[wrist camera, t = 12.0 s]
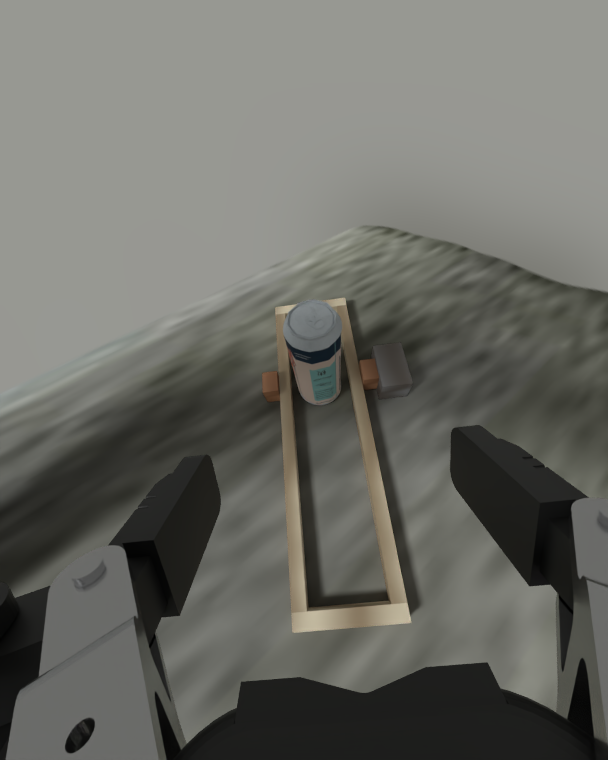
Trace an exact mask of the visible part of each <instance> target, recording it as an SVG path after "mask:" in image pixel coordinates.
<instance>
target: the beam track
mask: <svg viewBox="0 0 608 760" xmlns="http://www.w3.org/2000/svg"><path fill="white" fill-rule="evenodd" d="M323 302H327V303H328V304H329V305H330V306H331V307H332V308H333V309H334V310H335V311H336V312H337V313H338V315H339V316H340V318H341V321H342V331H341V340H342V346H343V351H344V357H345V363H346V368H347V374H348V379H349V385H350V390H351V396H352V401H353V407H354V412H355V418H356V423H357V429H358V434H359V440H360V445H361V451H362V456H363V462H364V468H365V473H366V479H367V484H368V490H369V495H370V501H371V506H372V512H373V517H374V523H375V528H376V534H377V539H378V545H379V550H380V556H381V562H382V567H383V573H384V578H385V584H386V589H387V595H388V600H389V601H378V602H366V603H355V604H343V605H332V606H320V607H309V606H308V593H307V580H306V567H305V553H304V540H303V527H302V514H301V501H300V487H299V474H298V461H297V448H296V434H295V421H294V408H293V395H292V382H291V368H290V356H289V352H288V349H287V345H286V342H285V338H284V334H283V325H284V321H285V319H286V317H287V315H288V312H289V311H290V310H291V309H292V308H293V307H294V306H296V305H297V304H296V305H289V306H281V307H275V312H276V331H277V350H278V368H279V376H278V373H277V371H273V372H265V373H262V383H263V394H264V396H265V398H266V400H267V402H273V401H280V406H281V425H282V444H283V463H284V481H285V500H286V519H287V538H288V557H289V576H290V594H291V613H292V632H293V633H296V632H308V631H320V630H332V629H344V628H356V627H368V626H380V625H392V624H404V623H411V618H410V613H409V608H408V604H407V599H406V594H405V589H404V584H403V579H402V574H401V569H400V564H399V560H398V555H397V550H396V545H395V540H394V535H393V530H392V525H391V521H390V516H389V511H388V506H387V501H386V496H385V491H384V486H383V482H382V477H381V472H380V467H379V462H378V457H377V452H376V447H375V442H374V438H373V433H372V428H371V423H370V418H369V413H368V408H367V403H366V399H365V394H364V390H370V389H377V393H378V397H379V399H386V398H395V397H403V396H407V395H408V393H409V391H410V389H411V387H412V385H413V381H412V378H411V374H410V371H409V368H408V364H407V361H406V358H405V354H404V351H403V348H402V344H401V342H398V343H390V344H382V345H375V346H373V347H372V353H371V358H370V359H366V360H360V362H359V364H358V360H357V355H356V350H355V345H354V340H353V335H352V330H351V325H350V320H349V316H348V311H347V306H346V301H345V298H339V299H332V300H324V301H323Z"/></svg>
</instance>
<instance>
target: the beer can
mask: <svg viewBox="0 0 608 760" xmlns="http://www.w3.org/2000/svg"><path fill="white" fill-rule="evenodd" d="M341 331H342V321H341V318H340V316H339V315H338V313H337V312H336V311H335V310H334V309H333V308H332V307H331V306H330V305H329V304H328V303H327V302H323V301H319V300H315V299H312V300H307V301H303V302H299V303H298V304H297V305H296V306H294V307H293V308H292V309H291V310H290V311H289V312H288V315H287V317H286V319H285V321H284V325H283V334H284V338H285V342H286V345H287V349H288V352H289V356H290V360H291V363H292V367H293V371H294V374H295V378H296V382H297V385H298V389H299V392H300V394H301V396H302V397H303V399H304V400H306V401H307V402H309V403H311V404H314V405H325V404H328V403H330V402H332V401H334V400H335V399H336V398H337V397H338V395H339V394H340V391H341Z"/></svg>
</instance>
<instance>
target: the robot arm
mask: <svg viewBox="0 0 608 760" xmlns="http://www.w3.org/2000/svg"><path fill="white" fill-rule="evenodd" d="M450 472H451V478H452V481H453V484H454V486H455V488H456V490H457V491H458V492H459V494H460V495H461V496H462V498H463V499H464V500H465V502H466V503H467V504H468V506H469V507H470V508H471V510H472V511H473V512H474V514H475V515H476V516H477V518H478V519H479V520H480V522H481V523H482V524H483V526H484V527H485V528H486V530H487V531H488V532H489V533H490V535H491V536H492V537H493V539H494V540H495V541H496V543H497V544H498V545H499V547H500V548H501V549H502V551H503V552H504V553H505V555H506V556H507V557H508V559H509V560H510V561H511V563H512V564H513V565H514V567H515V568H516V569H517V571H518V572H519V573H520V574H521V576H522V577H523V578H524V580H525V581H526V582H527V584H528V585H529V586H539V585H550V584H551V586H552V587H553V588H554V589H555V590H556V592H557V597H556V636H557V673H558V694H557V708H556V712H554V711H553V710H551V709H549V708H548V707H546V706H543V705H541V704H539V703H537V702H535V701H533V700H531V699H529V698H527V697H524V696H522V695H519V694H516V693H513V692H511V691H508V690H504V689H500V687H499V685H498V683H497V681H496V679H495V677H494V675H493V673H492V671H491V669H490V667H489V664H488V662H487V663H474V664H462V665H449V666H436V667H425V668H423V669H421V670H418V671H416V672H414V673H412V674H410V675H407V676H405V677H403V678H401V679H398V680H396V681H394V682H392V683H390V684H387V685H385V686H383V687H381V688H378V689H376V690H374V691H372V692H369V693H359V692H355V691H351V690H347V689H343V688H339V687H336V686H332V685H328V684H324V683H320V682H316V681H313V680H309V679H305V678H301V677H297V678H284V679H272V680H259V681H246V682H241V686H240V692H239V698H238V704H237V708H235V709H233V710H231V711H229V712H227V713H226V714H224V715H222V716H221V717H219V718H218V719H216V720H214V721H213V722H212V723H210V724H209V725H208V726H207V727H205V728H204V729H203V730H202V731H200V732H199V733H198V734H197V735H196V736H195V737H194V738H193V739H192V740H191V741H190V742H189V743H187V744H186V741H185V738H184V735H183V732H182V729H181V725H180V722H179V719H178V715H177V711H176V708H175V704H174V700H173V695H172V691H171V687H170V683H169V679H168V675H167V671H166V667H165V663H164V659H163V655H162V651H161V647H160V643H159V639H158V636H157V634H156V629H157V627H158V624H159V622H160V620H161V617H171V616H180V614H181V611H182V608H183V606H184V603H185V601H186V598H187V595H188V593H189V590H190V588H191V585H192V582H193V580H194V577H195V575H196V572H197V569H198V567H199V564H200V562H201V559H202V556H203V554H204V551H205V549H206V546H207V543H208V541H209V538H210V536H211V533H212V530H213V528H214V525H215V523H216V520H217V517H218V515H219V512H220V505H221V498H220V492H219V488H218V484H217V480H216V476H215V472H214V468H213V464H212V460H211V458H210V456H209V455H199V456H190V457H185V458H183V460H182V461H181V462H180V464H179V465H178V466H177V468H176V469H175V471H174V472H173V473H172V474H168V475H167V476H166V477H164V478H163V479H162V480H160V481H159V482H158V483H157V484H155V485H154V487H153V488H152V489H151V491H150V492H149V493H148V494H147V496H146V499H144V500H143V501H142V502H141V504H140V505H139V506H138V509H136V510H135V511H134V513H133V514H132V515H131V517H130V518H129V519H128V520H127V522H126V523H125V524H124V526H123V527H122V528H121V529H120V531H119V532H118V533H117V535H116V536H115V537H114V539H113V540H112V541H111V542H110V544H109V545H108V546H104V547H100V548H97V549H94V550H92V551H90V552H88V553H86V554H84V555H82V556H81V557H79V558H78V559H76V560H75V561H73V562H72V563H71V564H69V565H68V566H67V567H66V568H65V569H64V570H63V571H62V572H61V573H60V574H59V575H58V576H57V577H56V578H55V580H54V581H53V583H52V585H51V586H48V587H45V588H43V589H40V590H37V591H34V592H31V593H28V594H25V595H22V596H20V597H17V598H15V597H14V596H13V594H12V592H11V590H10V588H9V587H8V585H7V584H6V583H4V582H0V760H608V499H602V498H589V497H587V496H586V495H585V494H583V493H582V492H581V491H579V490H578V489H576V488H575V487H574V486H572V485H571V484H570V483H568V482H567V481H565V480H564V479H563V478H561V477H560V476H559V475H557V474H556V473H555V472H553V471H552V470H550V469H549V468H548V467H546V468H545V466H544V464H542V463H541V462H540V461H538V460H537V459H533V456H531V455H530V454H529V453H527V452H526V451H525V450H523V449H522V448H520V447H519V446H517V445H515V444H512V443H510V442H507V441H505V440H503V439H497V438H496V437H495V436H493V435H492V434H491V433H489V432H488V431H487V430H486V429H484V428H483V427H482V426H480V425H475V426H466V427H457V428H453V430H452V432H451V460H450Z"/></svg>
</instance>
